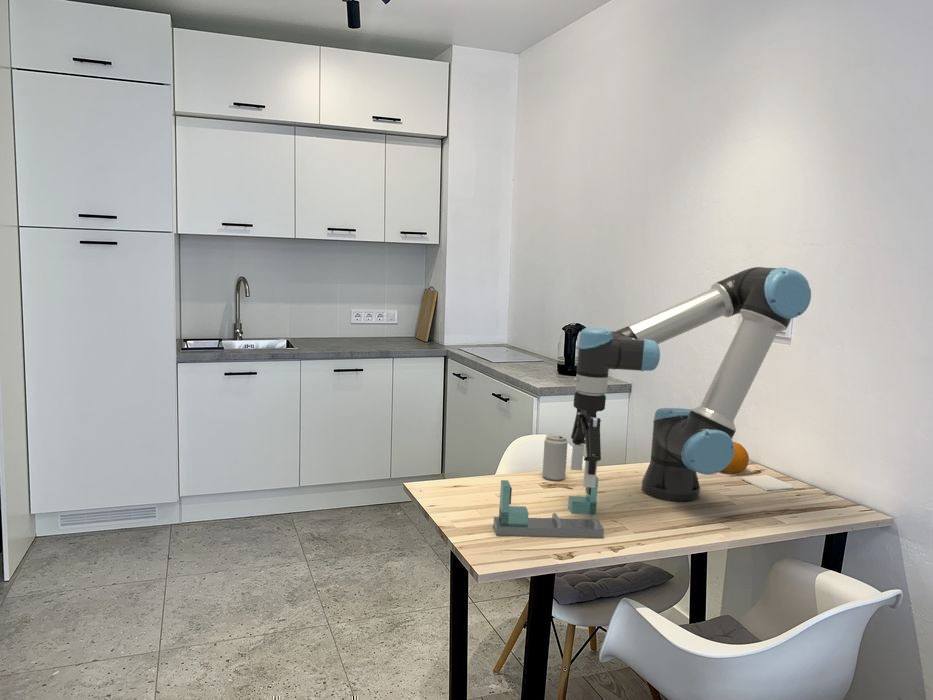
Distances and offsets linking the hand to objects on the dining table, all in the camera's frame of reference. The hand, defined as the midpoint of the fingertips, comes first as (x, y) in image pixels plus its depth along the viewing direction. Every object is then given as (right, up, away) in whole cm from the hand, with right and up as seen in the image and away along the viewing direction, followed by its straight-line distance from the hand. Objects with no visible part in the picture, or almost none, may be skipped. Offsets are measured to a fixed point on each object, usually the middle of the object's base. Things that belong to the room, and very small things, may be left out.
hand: (582, 478), depth 177 cm
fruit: (+51, -6, +44) cm, 68 cm away
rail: (-10, -10, -14) cm, 19 cm away
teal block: (0, -8, +1) cm, 8 cm away
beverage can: (-4, -5, +27) cm, 27 cm away
